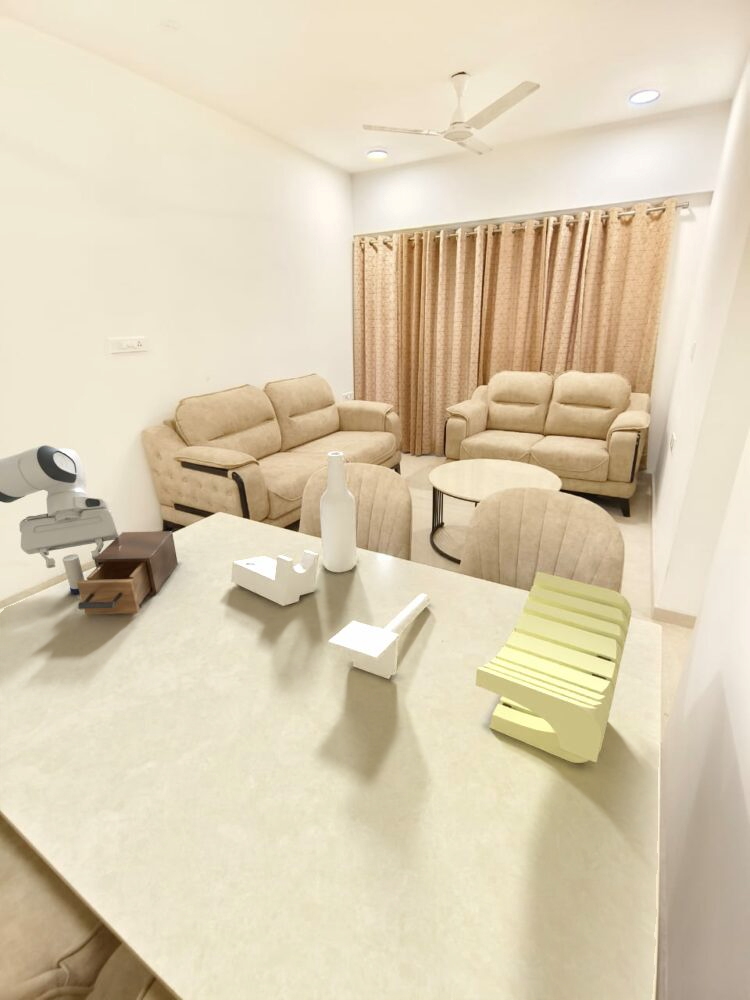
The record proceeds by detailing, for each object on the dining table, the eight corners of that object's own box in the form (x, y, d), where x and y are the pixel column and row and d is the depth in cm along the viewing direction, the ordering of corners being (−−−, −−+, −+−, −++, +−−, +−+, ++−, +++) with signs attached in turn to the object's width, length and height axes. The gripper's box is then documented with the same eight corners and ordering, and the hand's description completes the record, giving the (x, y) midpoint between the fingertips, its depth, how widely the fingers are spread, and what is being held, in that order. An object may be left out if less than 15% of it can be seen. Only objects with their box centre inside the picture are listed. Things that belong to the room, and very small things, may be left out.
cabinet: (156, 594, 118) (149, 558, 114) (102, 595, 118) (94, 559, 114) (178, 564, 131) (172, 531, 128) (129, 565, 131) (122, 532, 128)
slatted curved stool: (584, 821, 65) (606, 715, 59) (469, 766, 73) (476, 668, 66) (617, 681, 89) (635, 595, 82) (527, 652, 97) (537, 571, 90)
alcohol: (351, 574, 125) (347, 459, 114) (318, 571, 127) (311, 457, 116) (360, 558, 133) (358, 449, 122) (329, 555, 135) (323, 447, 124)
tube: (68, 594, 118) (59, 561, 115) (75, 587, 121) (67, 554, 118) (82, 594, 118) (73, 560, 115) (90, 587, 121) (81, 554, 118)
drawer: (127, 626, 105) (120, 594, 102) (72, 627, 104) (63, 595, 102) (160, 580, 122) (155, 552, 119) (113, 582, 122) (106, 553, 119)
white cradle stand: (313, 596, 118) (318, 554, 117) (283, 605, 110) (288, 560, 109) (262, 574, 128) (266, 535, 127) (231, 581, 120) (235, 539, 119)
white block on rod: (328, 640, 85) (406, 576, 113) (327, 685, 87) (404, 611, 115) (376, 657, 81) (445, 586, 108) (374, 703, 83) (442, 622, 111)
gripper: (14, 512, 117) (17, 568, 112) (111, 498, 125) (118, 549, 120) (23, 523, 122) (26, 576, 117) (115, 508, 130) (122, 558, 125)
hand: (73, 562), depth 119 cm, fingers open, 8 cm apart
